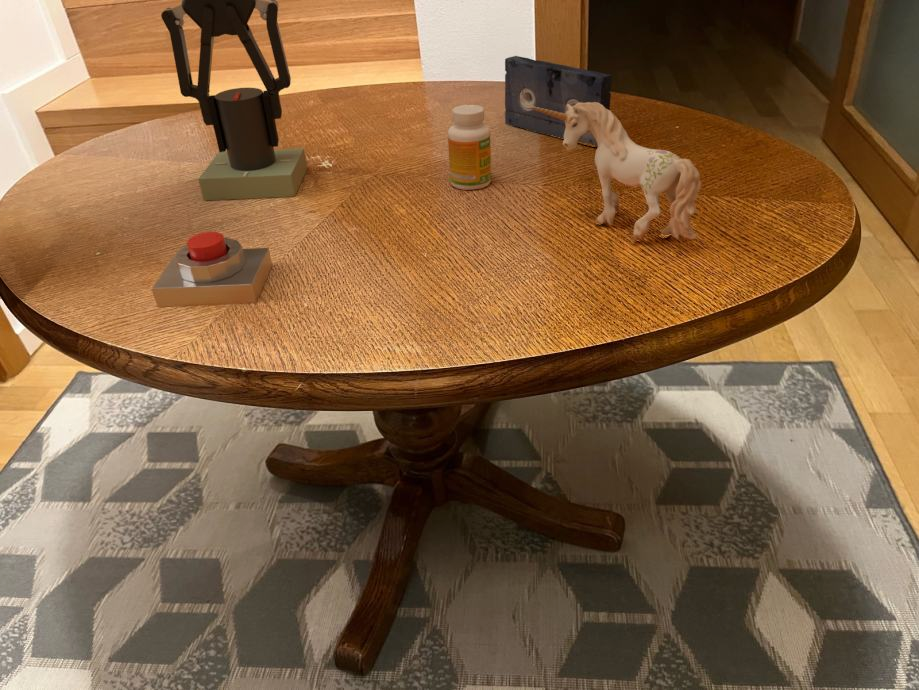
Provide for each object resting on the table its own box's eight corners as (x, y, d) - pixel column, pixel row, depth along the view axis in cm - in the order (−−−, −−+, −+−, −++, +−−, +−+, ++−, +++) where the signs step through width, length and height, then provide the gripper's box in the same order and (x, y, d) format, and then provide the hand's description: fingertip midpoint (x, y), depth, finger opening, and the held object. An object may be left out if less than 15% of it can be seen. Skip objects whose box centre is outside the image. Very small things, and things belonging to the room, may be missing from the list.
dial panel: (203, 201, 95) (197, 177, 94) (223, 172, 104) (218, 150, 102) (294, 196, 95) (290, 173, 93) (307, 168, 104) (304, 146, 102)
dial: (233, 156, 100) (217, 87, 95) (277, 152, 101) (264, 83, 95) (227, 172, 95) (210, 100, 90) (274, 168, 96) (260, 96, 90)
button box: (157, 307, 73) (145, 272, 71) (181, 269, 80) (172, 236, 78) (256, 303, 73) (248, 268, 71) (272, 265, 80) (265, 232, 77)
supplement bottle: (485, 192, 94) (483, 116, 88) (445, 189, 95) (441, 114, 90) (495, 176, 98) (494, 103, 92) (456, 174, 99) (453, 101, 94)
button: (186, 263, 73) (181, 248, 72) (196, 247, 76) (192, 232, 75) (222, 262, 73) (218, 246, 72) (231, 246, 76) (227, 230, 75)
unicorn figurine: (557, 199, 91) (561, 89, 83) (713, 233, 81) (733, 112, 74) (528, 220, 86) (530, 106, 79) (690, 259, 77) (709, 133, 69)
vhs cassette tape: (608, 144, 106) (613, 74, 101) (595, 150, 105) (599, 78, 99) (517, 119, 118) (517, 54, 112) (504, 124, 116) (503, 58, 110)
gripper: (114, -43, 79) (170, 162, 92) (291, -55, 81) (322, 148, 94) (128, -51, 85) (179, 143, 98) (292, -61, 88) (321, 130, 101)
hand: (249, 145), depth 96 cm, fingers closed on dial, 6 cm apart
